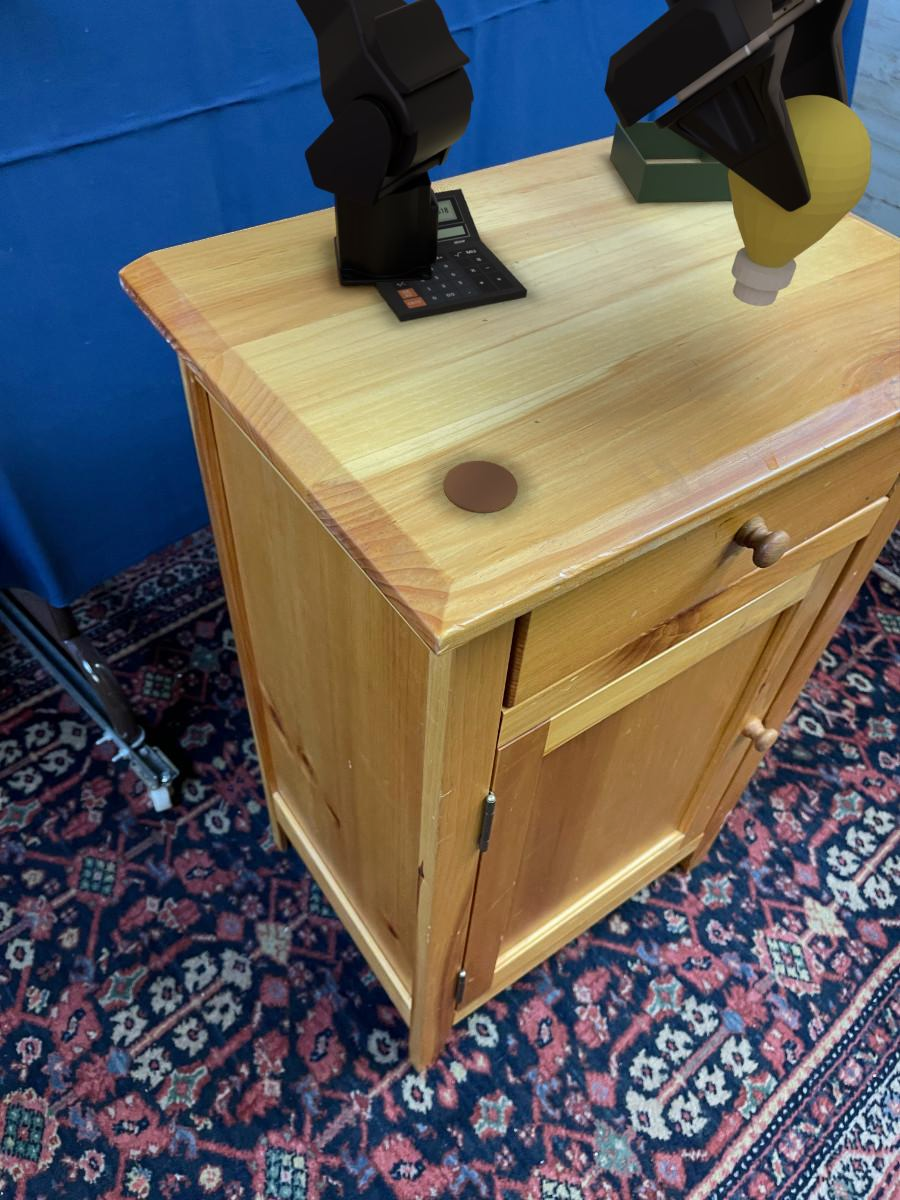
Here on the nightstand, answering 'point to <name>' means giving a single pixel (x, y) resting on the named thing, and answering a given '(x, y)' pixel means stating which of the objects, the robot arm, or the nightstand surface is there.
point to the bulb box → (666, 166)
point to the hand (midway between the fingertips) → (822, 181)
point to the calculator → (454, 270)
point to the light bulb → (836, 187)
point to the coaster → (480, 486)
